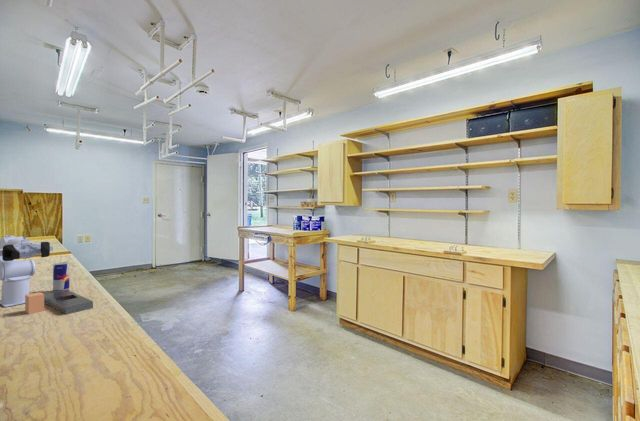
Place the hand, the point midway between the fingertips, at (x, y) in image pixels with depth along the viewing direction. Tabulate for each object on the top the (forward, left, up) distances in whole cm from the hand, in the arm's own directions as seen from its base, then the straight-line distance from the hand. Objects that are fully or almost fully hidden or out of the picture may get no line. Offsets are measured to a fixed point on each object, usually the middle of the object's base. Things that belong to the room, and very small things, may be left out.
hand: (33, 254), depth 104 cm
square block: (-3, +1, -21) cm, 21 cm away
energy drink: (-25, +15, -21) cm, 35 cm away
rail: (-3, +10, -21) cm, 23 cm away
